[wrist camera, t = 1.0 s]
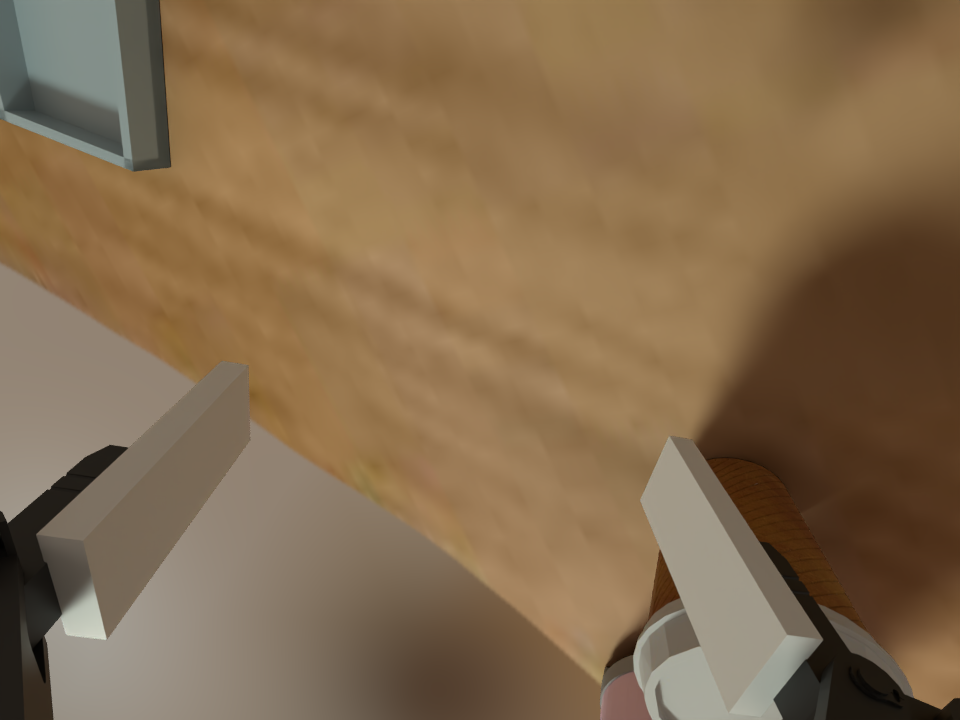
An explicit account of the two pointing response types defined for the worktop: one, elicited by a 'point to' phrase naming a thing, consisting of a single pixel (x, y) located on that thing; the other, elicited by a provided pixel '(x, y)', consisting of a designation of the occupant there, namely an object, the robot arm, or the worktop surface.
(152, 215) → the worktop surface
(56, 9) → the slate tray
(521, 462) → the worktop surface
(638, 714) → the blender
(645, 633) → the disposable coffee cup
